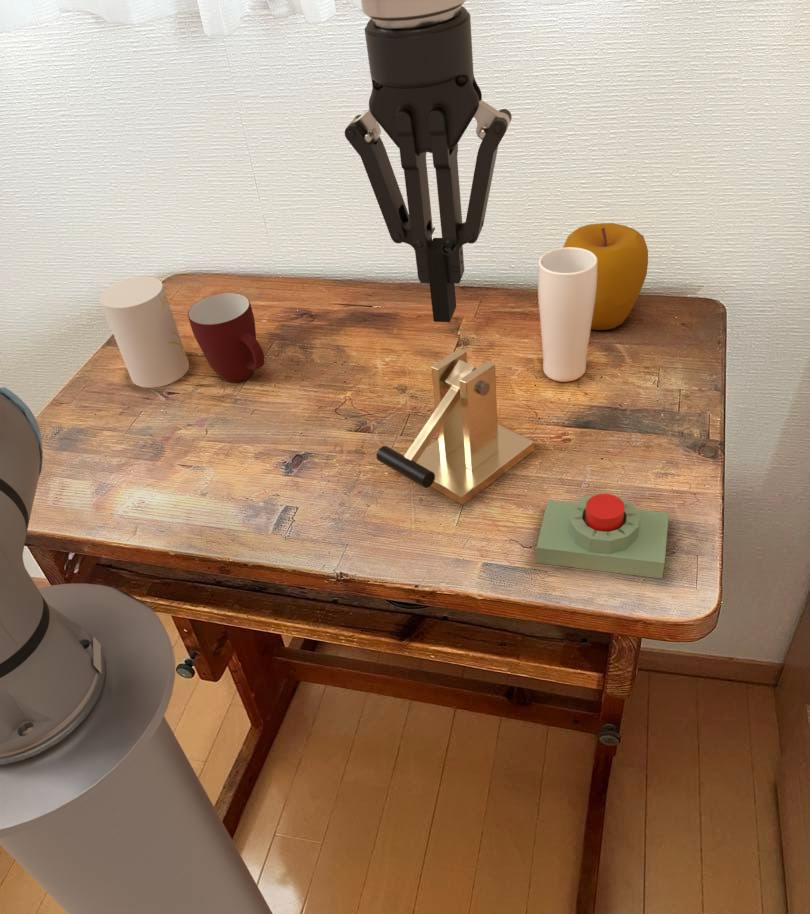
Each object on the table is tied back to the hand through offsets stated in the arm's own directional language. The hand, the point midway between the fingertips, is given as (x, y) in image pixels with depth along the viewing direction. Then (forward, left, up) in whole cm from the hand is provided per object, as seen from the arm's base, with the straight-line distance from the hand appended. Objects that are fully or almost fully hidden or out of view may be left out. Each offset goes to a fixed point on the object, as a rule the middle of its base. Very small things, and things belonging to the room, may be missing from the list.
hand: (445, 313), depth 75 cm
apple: (+11, +38, -23) cm, 46 cm away
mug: (-34, +19, -23) cm, 45 cm away
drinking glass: (+8, +25, -23) cm, 35 cm away
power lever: (-2, +3, -15) cm, 16 cm away
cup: (-47, +19, -23) cm, 56 cm away
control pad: (+16, -5, -22) cm, 28 cm away
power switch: (0, +6, -22) cm, 23 cm away
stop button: (+16, -5, -19) cm, 25 cm away
